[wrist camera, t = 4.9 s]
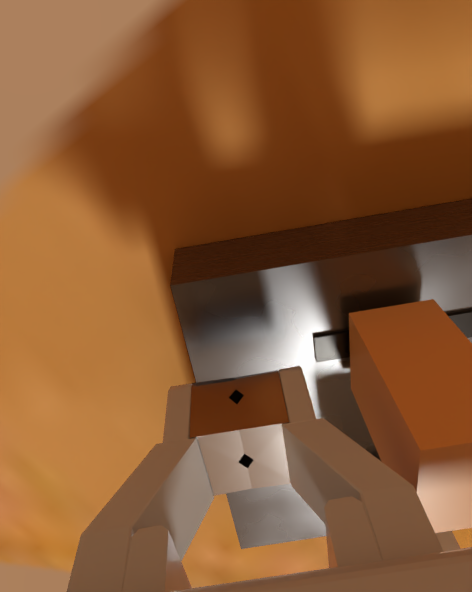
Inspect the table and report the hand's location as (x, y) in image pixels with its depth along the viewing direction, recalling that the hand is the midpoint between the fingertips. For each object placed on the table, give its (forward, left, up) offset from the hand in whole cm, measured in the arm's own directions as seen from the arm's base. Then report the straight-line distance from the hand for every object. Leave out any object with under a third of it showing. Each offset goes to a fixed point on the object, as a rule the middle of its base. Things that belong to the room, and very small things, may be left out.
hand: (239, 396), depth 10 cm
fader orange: (-4, 0, -1) cm, 4 cm away
